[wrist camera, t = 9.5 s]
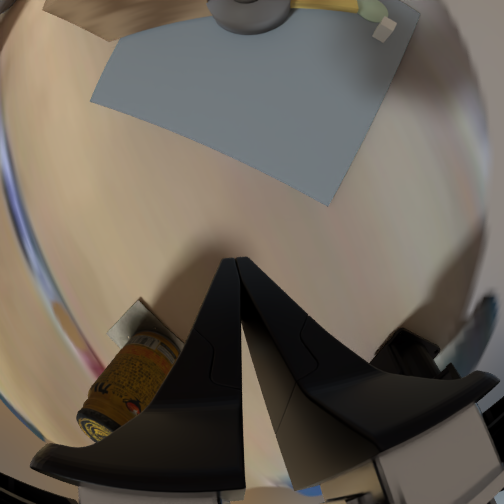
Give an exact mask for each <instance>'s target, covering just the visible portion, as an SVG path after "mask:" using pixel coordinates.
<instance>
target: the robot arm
mask: <svg viewBox="0 0 504 504" xmlns="http://www.w3.org/2000/svg"><path fill="white" fill-rule="evenodd" d="M241 323H242V327H243V330H244V334H245V337H246V341H247V344H248V348H249V351H250V354H251V358H252V361H253V364H254V368H255V371H256V374H257V378H258V381H259V384H260V388H261V391H262V394H263V397H264V400H265V404H266V407H267V410H268V413H269V416H270V419H271V423H272V426H273V429H274V432H275V434H276V438H277V441H278V444H279V447H280V450H281V453H282V456H283V459H284V462H285V465H286V468H287V471H288V474H289V477H290V480H291V482H292V485H293V488H294V491H297V490H302V489H306V488H310V487H313V486H317V485H320V487H321V491H322V494H323V498H324V501H325V502H323V503H320V504H496V501H495V499H494V496H495V495H496V494H497V493H498V492H500V491H503V490H504V396H503V397H502V398H501V399H500V400H499V401H497V402H496V403H495V404H494V405H492V406H491V407H490V408H489V409H487V410H486V411H485V412H484V413H482V412H481V410H480V408H479V406H478V404H477V402H478V401H479V400H480V399H482V398H483V397H484V396H485V395H486V394H487V393H488V392H490V391H491V390H492V389H493V388H494V387H495V386H496V385H497V384H498V383H499V382H500V379H498V378H497V377H496V376H495V375H493V374H491V373H488V372H482V371H474V372H472V373H471V374H469V375H467V376H466V377H463V378H462V377H461V376H460V375H459V373H458V372H457V370H456V369H455V367H454V366H453V364H452V363H449V364H448V365H447V366H446V368H445V369H444V370H443V371H442V372H440V370H439V368H438V366H437V365H436V363H435V361H434V360H433V359H434V358H435V357H436V356H437V355H438V353H439V352H440V348H439V346H437V345H436V344H434V343H432V342H430V341H428V340H426V339H424V338H422V337H420V336H418V335H416V334H414V333H412V332H410V331H408V330H406V329H404V328H400V329H398V330H397V331H396V333H395V334H394V335H393V337H392V338H391V339H390V340H389V342H388V343H387V344H386V345H385V346H384V348H383V349H382V350H381V351H380V352H379V354H378V355H377V356H376V357H375V358H374V359H373V361H372V362H371V363H370V364H369V363H368V362H367V361H365V360H364V359H362V358H361V357H360V356H358V355H357V354H356V353H354V352H353V351H352V350H350V349H349V348H348V347H346V346H345V345H343V344H342V343H341V342H340V341H338V340H337V339H336V338H334V337H333V336H332V335H331V334H329V333H328V332H327V331H326V330H325V329H324V328H322V327H321V326H320V325H319V324H318V323H317V322H316V321H315V320H314V319H313V318H312V317H311V316H308V314H307V313H306V312H305V311H304V310H303V309H302V308H301V307H300V306H299V305H298V304H297V303H296V302H295V301H294V300H292V299H291V298H290V297H289V296H288V295H287V294H286V293H285V292H284V291H283V290H282V289H281V288H280V287H279V286H278V285H277V284H276V283H275V282H274V281H273V280H271V279H270V278H269V277H268V276H267V275H266V274H265V273H264V272H263V271H262V270H261V269H260V268H259V267H258V266H257V265H256V264H255V263H254V262H253V261H252V260H251V259H250V258H248V257H236V258H235V259H234V258H223V259H222V260H221V262H220V265H219V267H218V269H217V271H216V274H215V276H214V278H213V280H212V283H211V285H210V287H209V289H208V292H207V294H206V296H205V299H204V301H203V303H202V306H201V308H200V310H199V313H198V315H197V317H196V320H195V322H194V324H193V327H192V329H191V331H190V333H189V336H188V338H187V340H186V342H185V344H184V347H183V349H182V351H181V353H180V354H179V356H178V358H177V360H176V362H175V363H174V365H173V367H172V368H171V370H170V372H169V373H168V375H167V377H166V378H165V380H164V381H163V383H162V385H161V386H160V388H159V390H158V391H157V393H156V395H155V396H154V398H153V399H152V401H151V402H150V404H149V405H148V406H147V407H146V408H145V409H144V410H143V411H142V412H141V413H140V414H138V415H137V416H136V417H134V418H133V419H131V420H130V421H128V422H127V423H125V424H124V425H123V426H121V427H120V428H118V429H117V430H115V431H114V432H112V433H111V434H109V435H108V436H106V437H105V438H103V439H102V440H100V441H98V442H97V443H95V444H93V445H89V446H86V447H79V448H77V447H69V446H64V445H59V444H53V443H49V444H46V445H45V446H44V447H43V448H42V449H41V450H39V451H38V452H37V453H36V455H35V456H34V457H33V459H32V461H31V464H30V468H31V469H33V470H35V471H38V472H40V473H42V474H45V475H47V476H50V477H53V478H55V479H58V480H60V481H63V482H66V483H69V484H72V485H75V486H78V490H79V491H78V492H79V504H230V501H239V500H244V495H245V490H246V482H245V465H244V440H243V411H242V357H241ZM401 333H402V334H401ZM400 334H401V335H400ZM435 350H436V351H435ZM0 504H78V503H77V501H76V500H74V499H71V498H67V497H64V496H60V495H57V494H54V493H51V492H48V491H45V490H42V489H39V488H37V487H34V486H31V485H29V484H26V483H24V482H22V481H19V480H17V479H14V478H12V477H10V476H8V475H5V474H3V473H1V472H0Z"/></svg>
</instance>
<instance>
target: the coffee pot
mask: <svg viewBox="0 0 504 504" xmlns="http://www.w3.org/2000/svg"><path fill="white" fill-rule="evenodd" d="M15 1H16V0H0V14H1V13H4V12H6V11H7V10H8V9H9V8H10V7H11V6H12V5H13V3H14V2H15Z"/></svg>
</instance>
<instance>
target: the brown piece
mask: <svg viewBox="0 0 504 504" xmlns="http://www.w3.org/2000/svg"><path fill="white" fill-rule="evenodd" d="M291 8H305V9H321V10H333V11H342V12H349V13H356V14H357V12H358V9H359V8H358V3H357V0H46V1H45V4H44V7H43V11H45V12H48V13H50V14H53V15H55V16H57V17H59V18H62V19H64V20H66V21H68V22H70V23H73V24H75V25H77V26H79V27H81V28H83V29H85V30H87V31H89V32H91V33H93V34H95V35H97V36H99V37H101V38H102V39H104V40H106V41H108V42H111V41H113V40H116V39H119V38H122V37H125V36H128V35H131V34H134V33H137V32H141V31H144V30H147V29H151V28H155V27H159V26H163V25H167V24H171V23H175V22H180V21H185V20H190V19H195V18H201V17H208V16H213V18H214V20H215V21H216V23H217V24H218V25H219V26H220V27H222V28H223V29H225V30H226V31H229V32H231V33H234V34H239V35H258V34H263V33H266V32H269V31H271V30H273V29H275V28H277V27H278V26H280V25H281V24H282V23H283V22H284V21H285V20H286V19H287V17H288V16H289V13H290V9H291Z"/></svg>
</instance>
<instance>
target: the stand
mask: <svg viewBox="0 0 504 504" xmlns="http://www.w3.org/2000/svg"><path fill="white" fill-rule="evenodd" d="M357 3H358V8H359V9H358V12H357V14H356V13H349V12H342V11H333V10H321V9H305V8H291V9H290V13H289V16H288V17H287V19H286V20H285V21H284V22H283V23H282V24H281V25H280V26H278V27H277V28H275V29H273V30H271V31H269V32H266V33H263V34H258V35H239V34H234V33H231V32H229V31H226V30H225V29H223V28H222V27H220V26H219V25H218V24H217V23H216V21H215V20H214V18H213V16H208V17H201V18H195V19H190V20H185V21H180V22H175V23H171V24H167V25H163V26H159V27H155V28H151V29H147V30H144V31H141V32H137V33H134V34H131V35H128V36H125V37H122V38H120V40H119V42H118V44H117V45H116V47H115V49H114V51H113V53H112V55H111V57H110V59H109V61H108V62H107V64H106V66H105V68H104V71H103V73H102V75H101V77H100V79H99V81H98V83H97V86H96V88H95V90H94V92H93V95H92V97H91V100H90V102H93V103H96V104H99V105H102V106H105V107H108V108H111V109H114V110H117V111H119V112H122V113H125V114H128V115H131V116H133V117H136V118H139V119H141V120H144V121H147V122H149V123H152V124H155V125H157V126H160V127H162V128H165V129H167V130H170V131H172V132H175V133H177V134H180V135H182V136H184V137H187V138H189V139H191V140H194V141H196V142H198V143H201V144H203V145H205V146H208V147H210V148H212V149H214V150H217V151H219V152H221V153H223V154H225V155H228V156H230V157H232V158H234V159H236V160H238V161H240V162H243V163H245V164H247V165H249V166H251V167H253V168H255V169H257V170H259V171H261V172H263V173H265V174H267V175H269V176H271V177H273V178H275V179H277V180H279V181H281V182H283V183H285V184H287V185H289V186H291V187H293V188H295V189H296V190H298V191H300V192H302V193H304V194H306V195H308V196H309V197H311V198H313V199H315V200H317V201H319V202H320V203H322V204H324V205H326V206H329V204H330V202H331V200H332V199H333V197H334V195H335V193H336V191H337V189H338V187H339V186H340V184H341V182H342V180H343V178H344V176H345V174H346V172H347V171H348V169H349V167H350V165H351V163H352V161H353V159H354V157H355V155H356V153H357V151H358V149H359V147H360V145H361V143H362V141H363V139H364V137H365V135H366V133H367V131H368V129H369V127H370V125H371V123H372V121H373V119H374V117H375V115H376V113H377V111H378V109H379V107H380V105H381V103H382V101H383V99H384V96H385V94H386V92H387V90H388V88H389V86H390V84H391V81H392V79H393V77H394V75H395V73H396V71H397V68H398V66H399V64H400V62H401V59H402V57H403V55H404V52H405V50H406V48H407V46H408V43H409V41H410V39H411V36H412V34H413V31H414V29H415V27H416V24H417V22H418V19H419V17H420V13H419V12H417V11H416V10H414V9H412V8H411V7H409V6H408V5H406V4H404V3H403V2H401V1H399V0H357Z"/></svg>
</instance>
